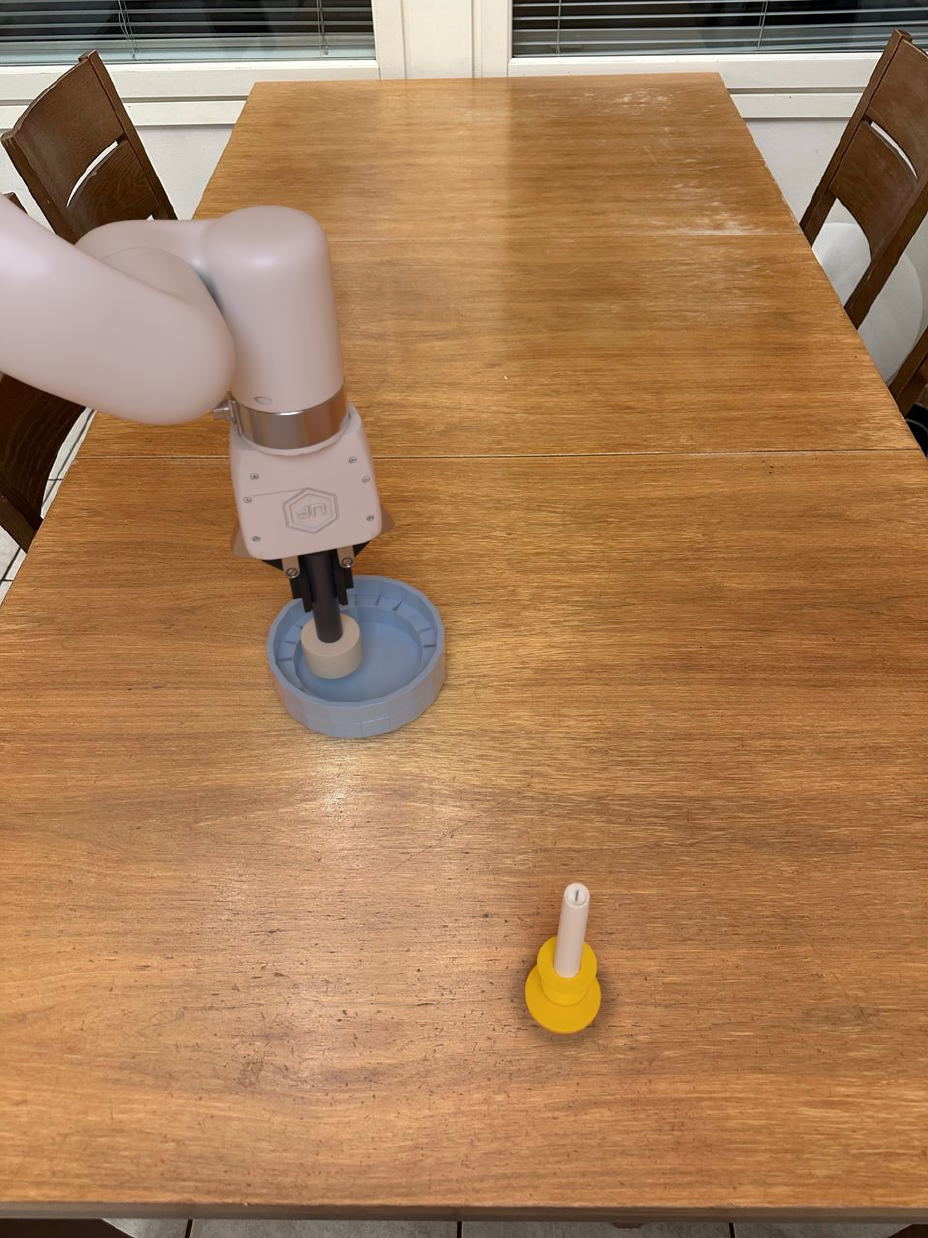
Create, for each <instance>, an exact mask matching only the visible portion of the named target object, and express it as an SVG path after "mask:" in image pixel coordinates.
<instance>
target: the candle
mask: <svg viewBox="0 0 928 1238" xmlns="http://www.w3.org/2000/svg"><path fill="white" fill-rule="evenodd" d="M590 899H591V895H590V891H589V889H588V887H587V886H585V884H583V883H580V882H573V883H570V884H569V885H567V886H566V888H565V889H564V892H563V897H562V901H561V906H560V914H559V922H558V928H557V935H556V936H552V937H550V938H549V939H548V940H546V941H545V942H544V943H543V945H542V946H541V947H540V949H539V951H538V954H537V958H536V963H535V965H534V966H533V968H532V969H531V970H530V971H529V972H528V973H529V974H528V975H527V978H526V980H525V985H524V1000H525V1004H526V1007H527V1010H528V1012H529V1014H530V1015H531V1017H532V1018H533V1020H534V1021H535V1022H536V1023H538V1024H539V1025H540V1026H541V1027H542V1028H544V1029H546V1030H548V1031H550V1032H551V1033H556V1034H563V1035H564V1034H574V1033H576V1032H580V1031H582V1030H584V1029H585V1028H586V1027H588V1026H589V1025H591V1023H592V1022H593V1021H594V1020H595V1018H596V1017H597V1015H598V1012H599V1009H600V1007H601V1000H602V992H601V991H602V990H601V984H600V983H599V980H598V978H597V976H596V975H597V970H598V963H597V962H598V961H597V956H596V954H595V952H594V949H593V948H592V947H591V946H590V944H589V943H588V942H586V941H585V938H586V937H585V936H586V932H587V923H588V919H589V918H588V917H589V910H590Z"/></svg>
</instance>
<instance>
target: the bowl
mask: <svg viewBox="0 0 928 1238" xmlns="http://www.w3.org/2000/svg"><path fill="white" fill-rule="evenodd" d="M352 576H353V583H354V588H351V589H346V591H347V598H348V605H343V606H342V604H340V605H339V609H340V613H342V614H345V615H347V616H349V617H351V618H353V619H354V620H355V621H356V623H357V624H358V626H359V629H360V637H361V644H362V651H363V658H362V661H361V663H360V665H359V666H358V668H357V669H356V670H355V671H353V672H352V673H351V674H349V675H347V676H344V677H341V678H336V679H326V678H321V677H319V676H316V675H315V674H313V673H312V672H311V671H310V670H309V669H308V668H307V666H306V663H305V658H304V653H303V648H302V643H301V631H302V629H303V627H304V626H305V624H306V623H307V622H308V621H309V620H311V619H312V618H314V616H313V611H312V610H311V612H307V613H305V610H304V606H303V601H302V598H299V599H294V600H293V598H292V599H291V600H290V601H289V602H287V603H286V604H284V606H283V607H282V608H281V610H280V611H279V613H278V614H277V615H276V617H275V619H274V620H273V621H272V623H271V625H270V627H269V631H268V635H267V639H266V643H265V649H266V656H267V657H266V658H267V663H268V667H269V671H270V675H271V678H272V679H271V680H272V682H273V686H274V689H275V693H276V696H277V699H278V700H279V702H280V703H281V704H282V706H283V707H284V709H285V711H286V712H287V714H288V715H289V716H290V717H291V718H293V719H294V720H296V721H297V722H298V723H300V724H301V725H302V726H304V727H305V728H307V729H308V730H310V731H314V732H317V733H320V734H323V735H326V736H329V737H332V738H343V739H344V738H346V739H347V738H349V739H350V738H351V739H365V738H370V737H374V736H378V735H379V736H380V735H384V734H388V733H392V732H394V731H396V730H398V729H399V728H401V727H403V726H405V725H407V724H409V723H411V722H413V721H415V720H417V719H418V717H420V716H421V715H422V714H423V712H425V711H426V710H427V709H428V708H429V707H430V706H431V705H432V704H433V703H434V702H435V700H436V699H437V696H438V695H439V693H440V691H441V689H442V687H443V685H444V683H445V680H446V671H447V670H446V669H447V648H446V647H447V646H446V629H445V626H444V624H443V619H442V617H441V615H440V611H439V609H438V608H437V607H436V606H435V604H434V603H433V602H432V601H431V599H429V598H428V597H427V595H426V594H425V593H424V592H422V591H421V590H419V589H417V588H415V587H414V586H413V585H411V584H409V583H407V582H405V581H403V580H398V579H394V578H391V577H388V576H383V575H379V574H352ZM338 602H339V601H338Z"/></svg>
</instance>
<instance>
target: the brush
mask: <svg viewBox="0 0 928 1238" xmlns="http://www.w3.org/2000/svg"><path fill="white" fill-rule="evenodd" d="M302 557H303V562H304V567H305V568H306V572H307V577H308V582H309V588H310V593H311V599H312V604H313V610H312V611H313V616H314V618H312V619H311V620H309V621H308V622H307V623H306V624H305V626H304V627H303V629H302V631H301V643H302V648H303V653H304V658H305V663H306V666H307V668H308V669H309V670H310V671H311V672H312V673H313V674H315V675H316V676H319V677H321V678H326V679H336V678H341V677H344V676H347V675H349V674H351V673H352V672H353V671H355V670H356V669H357V668H358V666H359V665H360V663H361V661H362V658H363V651H362V644H361V637H360V629H359V626H358V624H357V623H356V621H355V620H354V619H353V618H351V617H349V616H347V615H345V614H342V613H340V609H339V602H338V597H337V591H336V585H335V578H334V572H333V565H332V557H331V550H325V551H319V552H314V553H308V554H303V555H302Z"/></svg>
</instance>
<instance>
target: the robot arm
mask: <svg viewBox="0 0 928 1238" xmlns="http://www.w3.org/2000/svg"><path fill="white" fill-rule="evenodd" d="M329 243H330V242H329V240H328V237H327V234H326V232H325V230H324V228H323V227H322V225H321V223H319V222H318V221H317V220H316V219H315V217H313V216H311V215H310V214H308V213H307V212H304V211H302V210H301V209H298V208H294V207H290V206H285V205H274V204H273V205H271V204H269V205H266V204H265V205H255V206H249V207H244V208H239V209H236V210H233V211H230V212H228V213H226V214H223V215H221V216H220V217H216V218H199V219H131V220H130V219H129V220H121V221H120V220H119V221H116V222H115V221H114V222H110V223H106V224H104V225H100V226H98V227H95V228H93V229H92V230H90V231H88V232H87V233H85V234H84V235H83V236H82V237H81V238H79V239H78V241H77V242H76V243H75V244H72V243H71V242H69V241H67V240H65V239H64V238H63V237H62V236H59V235H58V234H57V233H55V232H54V231H52V230H51V229H49V228H47V227H45V225H43V224H41V223H40V222H39V221H37V220H36V219H35V218H33V217H32V216H31V215H30V214H28V213H27V212H25V211H24V210H23V209H21V208H20V207H19V206H18V205H16V203H14V202H13V201H11V199H10V198H8V197H6V196H5V194H3V193H2V192H1V191H0V372H2V373H3V374H6V375H7V376H9V377H11V378H13V379H16V380H17V381H19V382H21V383H24V384H26V385H29V386H31V387H33V388H36V389H38V390H40V391H43V392H45V393H48V394H51V395H54V396H57V397H58V398H61V399H63V400H66V401H69V402H72V403H74V404H77V405H80V406H83V407H86V408H88V409H91V410H94V411H96V412H100V413H102V414H105V415H108V416H111V417H115V418H118V419H120V420H124V421H128V422H132V423H137V424H143V425H149V426H176V425H182V424H187V423H189V422H193V421H195V420H199V419H200V418H202V417H204V416H205V415H207V414H209V413H211V414H212V418H213V421H214V422H216V421H223V420H225V422H229V421H231V422H230V424H229V432H228V433H229V435H228V440H229V441H228V458H229V459H228V460H229V468H230V476H231V477H230V479H231V484H232V491H233V495H234V501H235V506H236V507H235V508H236V513H237V518H236V521H235V525H234V528H233V531H232V534H231V538H230V540H229V544H230V551H231V555H232V556H233V557H234V558H239V559H249V560H255V561H256V560H260V561H261V562H262V563H265V564H266V565H269V566H270V567H272V568H275V569H277V570H279V571H282V572H283V575H284V576H285V578H287V579H288V581H289V585H290V591H291V595H292V599H293V600H294V599H299V598H302V601H303V606H304V610H305V613H307V612H311V610H313V604H312V599H311V593H310V588H309V582H308V577H307V572H306V568H305V567H304V562H303V557H302V555H303V554H308V553H314V552H319V551H325V550H331V557H332V565H333V572H334V578H335V585H336V591H337V597H338V601H339V605H340V604H342V606H343V605H348V598H347V591H346V589H351V588H354V583H353V576H352V575H353V570H352V569H353V568H352V567H353V566H354V565H355V563H356V557H357V556H358V555H359V554H360V553H361V552H362V551H363V550H364V549H365V548H366V547H367V546H368V544H369V543H370V542H371V541H372V540H374V539H376V538H378V537H379V536H381V535H384V534H385V533H387V532H389V531H391V530H392V529H394V527H395V526H396V522H395V520H394V516H393V514H392V512H391V510H390V509H389V508H388V506H387V505H386V503H385V502H384V500H383V499H382V498H381V496H380V493H379V487H378V481H377V474H376V470H375V465H374V463H375V462H374V458H373V455H372V454H373V453H372V449H371V445H370V441H369V438H368V434H367V431H366V428H365V425H364V423H363V420H362V417H361V415H360V414H359V411H358V409H357V407H356V406H355V405H354V404H353V402H351V401H349V399H348V393H347V384H346V382H347V381H346V375H345V367H344V365H345V364H344V358H343V357H344V356H343V349H342V340H341V331H340V323H339V316H338V308H337V307H338V305H337V299H336V289H335V282H334V273H333V264H332V255H331V250H330V244H329Z"/></svg>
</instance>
